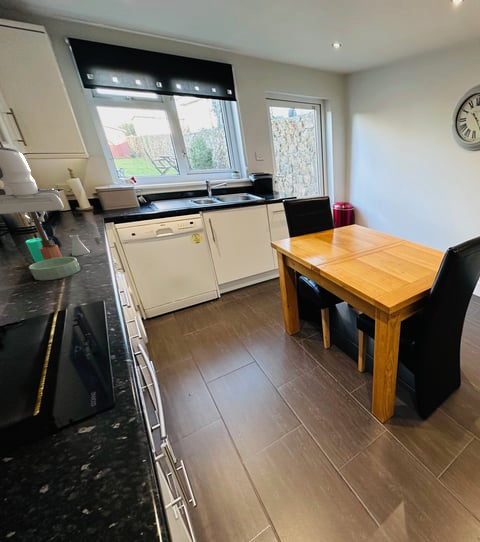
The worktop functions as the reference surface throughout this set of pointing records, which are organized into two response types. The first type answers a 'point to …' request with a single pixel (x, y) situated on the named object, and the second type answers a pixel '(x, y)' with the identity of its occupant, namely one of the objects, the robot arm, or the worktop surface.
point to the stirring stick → (40, 230)
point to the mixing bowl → (54, 268)
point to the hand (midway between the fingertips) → (36, 221)
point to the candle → (35, 248)
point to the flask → (78, 246)
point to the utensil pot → (50, 252)
